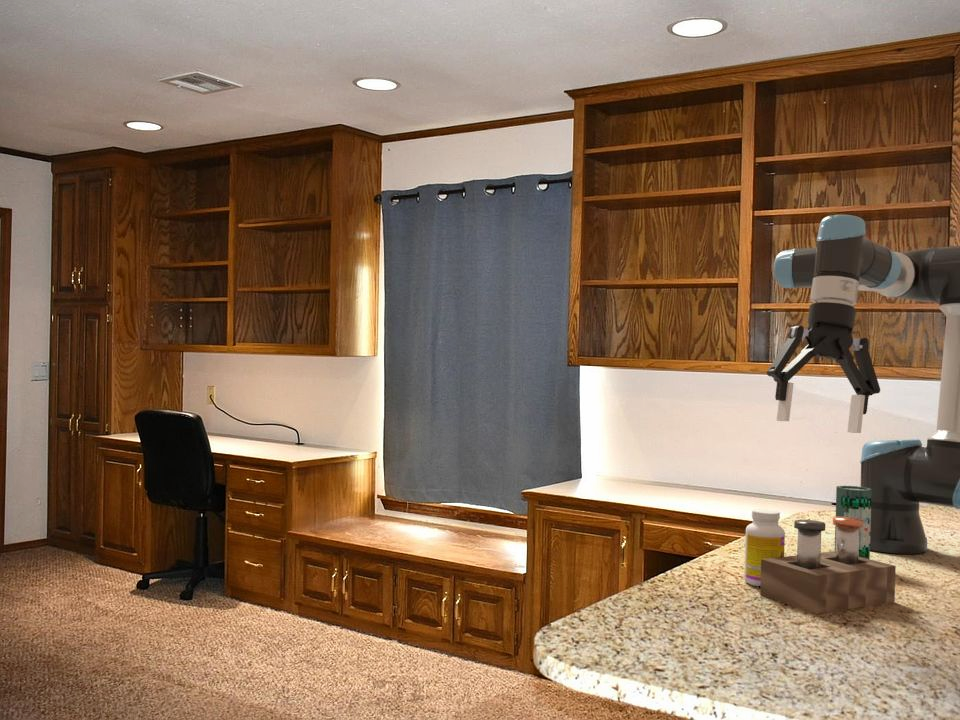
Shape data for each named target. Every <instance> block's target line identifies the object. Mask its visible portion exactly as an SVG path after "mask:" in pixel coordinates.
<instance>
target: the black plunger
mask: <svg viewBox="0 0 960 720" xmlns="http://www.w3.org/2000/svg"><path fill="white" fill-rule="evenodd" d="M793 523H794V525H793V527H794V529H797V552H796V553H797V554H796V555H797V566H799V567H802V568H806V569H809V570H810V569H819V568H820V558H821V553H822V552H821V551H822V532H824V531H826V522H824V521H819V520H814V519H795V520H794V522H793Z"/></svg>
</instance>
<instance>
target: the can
mask: <svg viewBox="0 0 960 720" xmlns="http://www.w3.org/2000/svg"><path fill="white" fill-rule="evenodd" d="M835 491H836V492H835V493H836V494H835V517H837V516H845V517H854V518H860V519H863V527H859V557H863V558H866V559H870V558H871V557H870V556H871V552H870V551H871V550H870V529H871V496H872V489H870V488H865V487H860V486H857V485H838V486H836V489H835ZM834 527H835V528H834V531H835V532H834V551H836V525H834ZM870 560H871V559H870Z"/></svg>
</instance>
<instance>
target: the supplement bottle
mask: <svg viewBox="0 0 960 720" xmlns="http://www.w3.org/2000/svg"><path fill="white" fill-rule="evenodd" d="M780 513H781V512H780V511H778V510H775V509H768V508H754V509H752V510H751V517H752V523H749V524H748V525H747V526H746V528H745V541H744V542H745V543H744V545H745V546H744V547H745V548H744V572H743V573H744V577H743V578H744V581H745V583H747V584H749V585H751V586H754V587H759V586H760V587H759V588H761V559H768V558H777V557H785V541H786V540H785V538H786V533H785V532H786V531H785V530H784V528H783V527H782V526H781V525H780V524H779V521H780V518H781V517H780Z"/></svg>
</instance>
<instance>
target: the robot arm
mask: <svg viewBox="0 0 960 720" xmlns="http://www.w3.org/2000/svg"><path fill="white" fill-rule="evenodd" d="M817 233H818V234H817V237H816V247H807V248H793V249H786V250H782V251H781V252H779V253H778V254H777V255H776V256H775V259H774V262H773V277H774V280H775V282H776V283H777V284H778V286H780V287H782V288H784V289H794V290H795V289H804V288H805V289H806V288H808V289H811V291H810V297H809V299H810V300H809V301H811V304H810V305H809V308H808V317H807V324H808V326H807V328H804V326H803V325H795V326H791V327H790V329H789V332H788V337H787V339H786V341H785V343H784V344H783V345H782V347H781V349H780V351H779V352H778V353H777V355H776V356H775V358H774V360H773V361H772V363H771V364H770V366H769V368H768V370H767V371H766V375H767V377H770V378H771V377H772V378H773V381H774V382H775V383H776V389H775V396H774V397H775V400H776V401H778V405H777V406H778V407H777V415H776V421H778V422H790V416H791V408H792V399H793V393H794V382H789V381H790V380H791V379H792V378H793V377H794V376H795V375H797V374H798V372H799V371H800V370H801V369H803V368H804V367H805V366H806V365H807V363H809V362H810V361H811V360H812V359H813V358H814V357H816V358H824V359H827V360H835V362H836V364H838V365H839V366H840V368H841V370H842V371H843V373H844V375H845V376H846V378H847V380H848V382H849V383H850V385H851V387H852V389H853V390H854V392H855V394H852V395H851V397H850V405H849V415H848V424H847V433H850V434H851V433H852V434H855V433H856V434H861V433H862V425H863V417H864V415H866V414H867V412H868V405H869V404H868V403H869V398H870V396H873V395H875V394H879V393H881V387H880V383H879V381H878V377H877V373H876V371H875V368H874V364H873V362H872V358H871V354H870V351H869V349H870V348H869V347H870V345H869V339H868V337H861V338H859V337H858V338H857V337H856V338H853V329H854V327H855V321H856V320H855V319H856V313H857V309H856V307H854V306H855V305H856V304H857V302H858V301H857V300H858V293H859V291H863V292H864V291H865V292H877V293H878V294H880V295H882V296H884V297H888V298H897V299H904V300H910V301H915V302H926V303H938V304H939V306H938V309H939V310H940V311H941V312H942V313H943V315H945V318H946V319H945V328H944V329H945V331H944V343H943V351H942V352H943V353H942V363H941V364H942V365H941V373H940V374H941V377H940V384H939V397H938V398H939V400H938V408H937V419H936V420H937V421H936V429H935V431H934V433H931V435H929V436H928V437H927V440H926V447H925V446H923V443H922V441H921V440H920V439H919V438H918V439H913V438H912V439H911V438H910V439H889V440H874V441H867V442H866V443H864V444H863V446H862V448H861V457H860V462H859V463H860V486H859V487H865V488H870V489H872V496H871V529H870V551H874V552H880V553H889V554H902V555H903V554H904V555H906V554H907V555H908V554H909V555H912V554H913V555H914V554H923V553H926V552H927V551H928V538H927V537H926V533H925V529H924V526H923V522H922V519H921V516H920V503H921V504H927V505H935V506H939V507H947V508H955V510H960V245H950V246H942V247H941V246H940V247H939V246H938V247H927V248H926V247H925V248H921V249H920V248H919V249H914V250H909V251H908V250H907V251H901V252H899V251H893V250H891V249H890V248H889V247H887V246H884V245H883V244H881V243H880V244H879V243H878V242H875V241H872V240H871V239H868V238H867V237H865V236H866V233H867V231H866V222H865V220H864V219H863V218H861V217H859V216H856V215H851V214H833V215H828V216H825V217H824V218H823V219H821V221H820V224H819V228H818V232H817ZM804 339H805V341H806V342H807V345H805V347H804V348H803V349H802V350H801V351H800V353H798V355H796V357H795V358H794V359H792V361H791V362H790V363H789V361H790V360H791V358H792V357H793V355H794V353H795V351H796V350H797V349H798V347H799V346H800V344H801V342H802V340H804ZM850 349H852V350H853V353H854V355H853V354H852V352H851V350H850ZM854 357H855V360H854ZM788 363H789V364H788Z"/></svg>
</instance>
